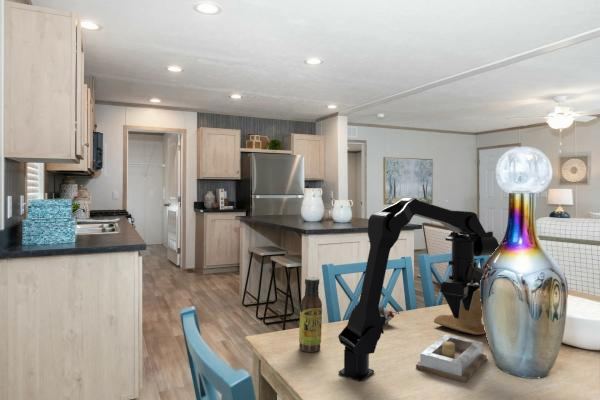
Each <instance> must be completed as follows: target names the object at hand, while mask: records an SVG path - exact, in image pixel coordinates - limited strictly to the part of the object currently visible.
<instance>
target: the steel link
mask: <svg viewBox="0 0 600 400" xmlns="http://www.w3.org/2000/svg"><path fill="white" fill-rule="evenodd" d="M445 341H448V342H453V343H454V344H455V350H459V351H463V353H462V354H461V355H460V356H459V357H458V358H457V359H453V358H449V357H445V356H442V342H445ZM482 354H484V342H483V341H478V340H473V339H469V338H465V337H460V336H456V335H451V334H446V333H445V334H444V335H443V336H441V337H440V338H439V339H437V340H436V341H435V342H433V343H432V344H430V345H429V346H428V347H427V348H425V349H424V350H423V351H421V352H420V354H419V355H420V356H419V358H420V360H419V362H420V365H421V366H424V367H428V368H431V369H435V370H438V371H442V372H445V373H449V374H453V375H456V376H460V377H462V376H463V375H464V374H465V373H466V372H467V371H468V369H469V368H470V367H471V366H472V365H473V364H474V363H475V362H476V361H477V360H478V358H479V357H480V356H481V355H482Z"/></svg>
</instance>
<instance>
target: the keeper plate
mask: <svg viewBox="0 0 600 400" xmlns="http://www.w3.org/2000/svg"><path fill="white" fill-rule="evenodd" d="M462 353H463V351H459V350H455V344H454V343H453V342H448V341H445V342H442V356H445V357H449V358H453V359H457V358H458V357H459V356H460V355H461V354H462ZM487 355H488V354H485V353H483V354H482V355H481V356H480V357H479V358H478V360H477V361H476V362H475V363H474V364H473V365H472V366H471V367H470V368H469V369H468V371H467V372H466V373H465V374H464V375H463V376H462V377H460V376H456V375H453V374H449V373H445V372H442V371H438V370H435V369H431V368H428V367H424V366H421V365H420V361H419V362H417V363H416V364H415V369H416V370H420V371H424V372H426V373H430V374H433V375H437V376H440V377H445V378H448V379H451V380H454V381H458V382H461V383H464V384H466V383H467V382H468V381H469V380H470V379H471V377H472V376H473V375H474V374H475V373H476V371H477V370H478V369H479V368H480V367H481V366H482V364H483V363H485V361H486V360H487V359H488V358H487V357H488V356H487Z"/></svg>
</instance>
